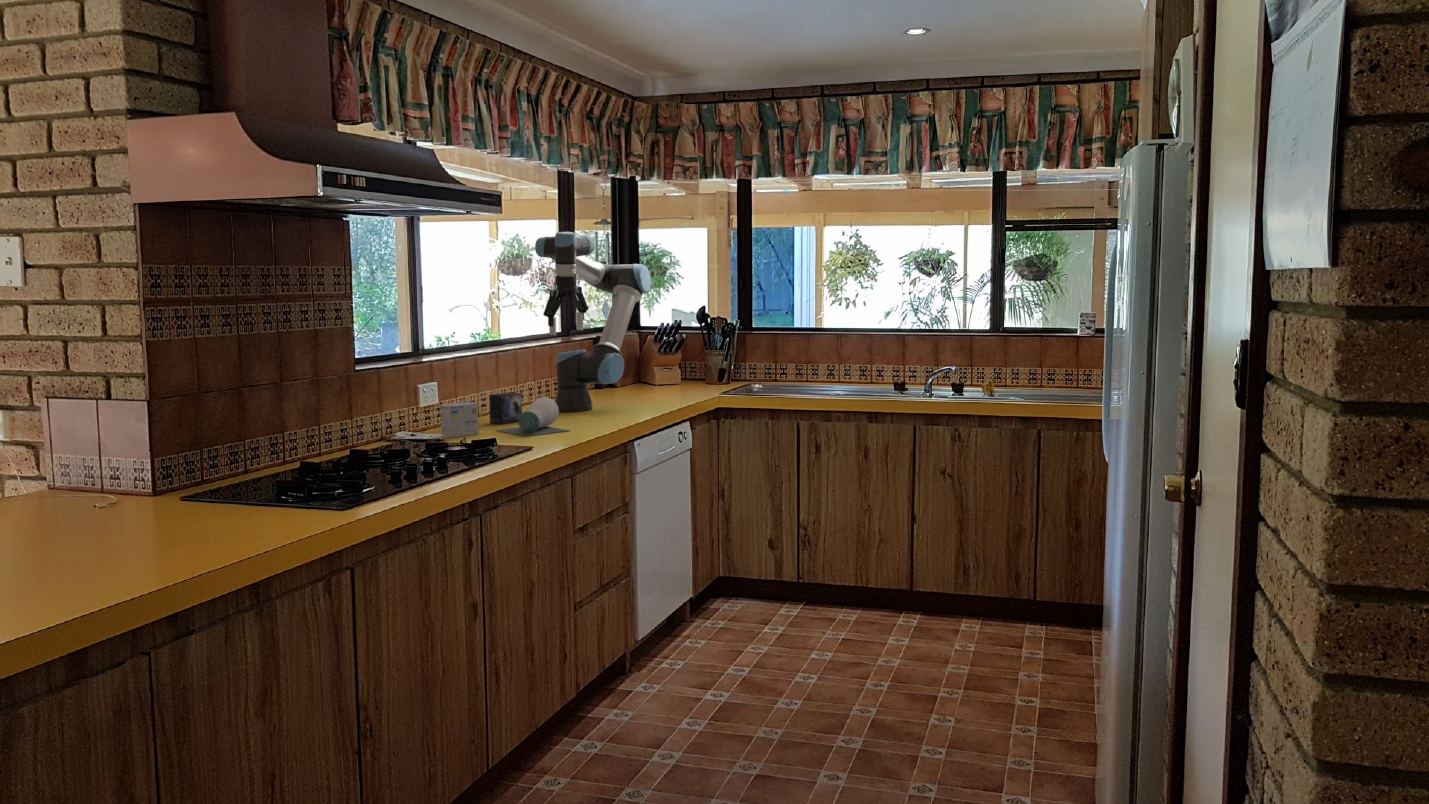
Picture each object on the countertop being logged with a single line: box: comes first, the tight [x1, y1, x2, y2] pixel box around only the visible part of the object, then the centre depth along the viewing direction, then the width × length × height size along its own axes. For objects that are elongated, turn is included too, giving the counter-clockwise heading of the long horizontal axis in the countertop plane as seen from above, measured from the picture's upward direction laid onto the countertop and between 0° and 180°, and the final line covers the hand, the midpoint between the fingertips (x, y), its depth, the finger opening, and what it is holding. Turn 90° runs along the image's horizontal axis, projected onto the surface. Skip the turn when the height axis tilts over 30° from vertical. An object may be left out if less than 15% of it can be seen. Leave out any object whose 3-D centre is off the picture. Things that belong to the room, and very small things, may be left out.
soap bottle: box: [517, 396, 560, 433], centre depth 363 cm, size 10×10×23 cm
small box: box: [488, 391, 523, 425], centre depth 386 cm, size 11×6×10 cm, turn 143°
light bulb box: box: [439, 401, 480, 439], centre depth 356 cm, size 11×7×11 cm, turn 134°
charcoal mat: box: [494, 425, 570, 438], centre depth 363 cm, size 17×20×1 cm
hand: (566, 332), depth 396 cm, fingers open, 13 cm apart
